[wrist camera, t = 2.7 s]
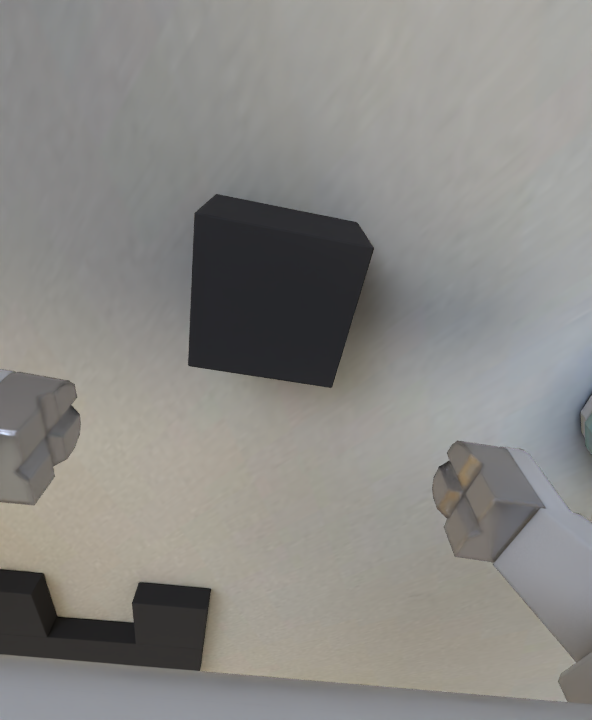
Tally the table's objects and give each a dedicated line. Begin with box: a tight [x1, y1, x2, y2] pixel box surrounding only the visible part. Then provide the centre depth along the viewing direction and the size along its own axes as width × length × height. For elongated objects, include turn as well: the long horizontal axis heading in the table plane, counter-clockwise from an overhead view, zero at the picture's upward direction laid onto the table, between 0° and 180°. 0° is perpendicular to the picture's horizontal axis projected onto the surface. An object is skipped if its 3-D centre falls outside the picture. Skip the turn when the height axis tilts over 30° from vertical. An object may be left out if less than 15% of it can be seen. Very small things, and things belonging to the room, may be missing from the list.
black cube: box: [188, 194, 374, 388], centre depth 14 cm, size 6×6×4 cm
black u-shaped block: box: [0, 570, 211, 671], centre depth 32 cm, size 18×16×2 cm
